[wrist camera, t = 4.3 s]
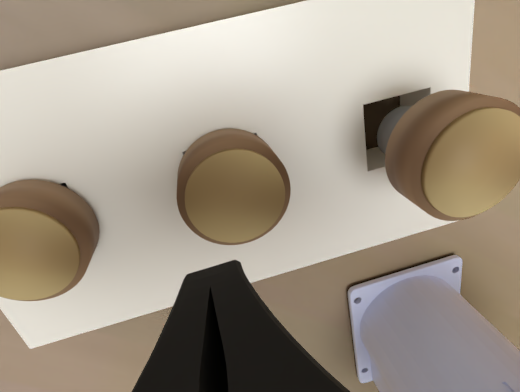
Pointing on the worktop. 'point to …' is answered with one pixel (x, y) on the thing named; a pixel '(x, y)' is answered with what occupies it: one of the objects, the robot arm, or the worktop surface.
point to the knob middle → (231, 187)
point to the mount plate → (224, 117)
